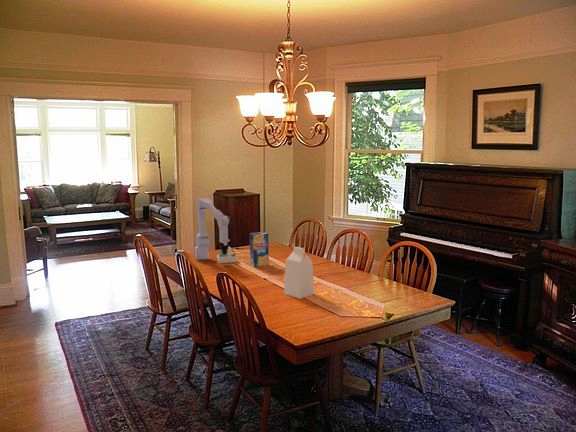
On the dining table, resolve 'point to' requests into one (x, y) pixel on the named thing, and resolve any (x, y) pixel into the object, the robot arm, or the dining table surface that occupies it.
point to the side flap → (232, 250)
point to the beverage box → (259, 249)
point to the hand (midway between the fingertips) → (224, 253)
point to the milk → (298, 274)
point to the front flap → (222, 254)
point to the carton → (226, 258)
